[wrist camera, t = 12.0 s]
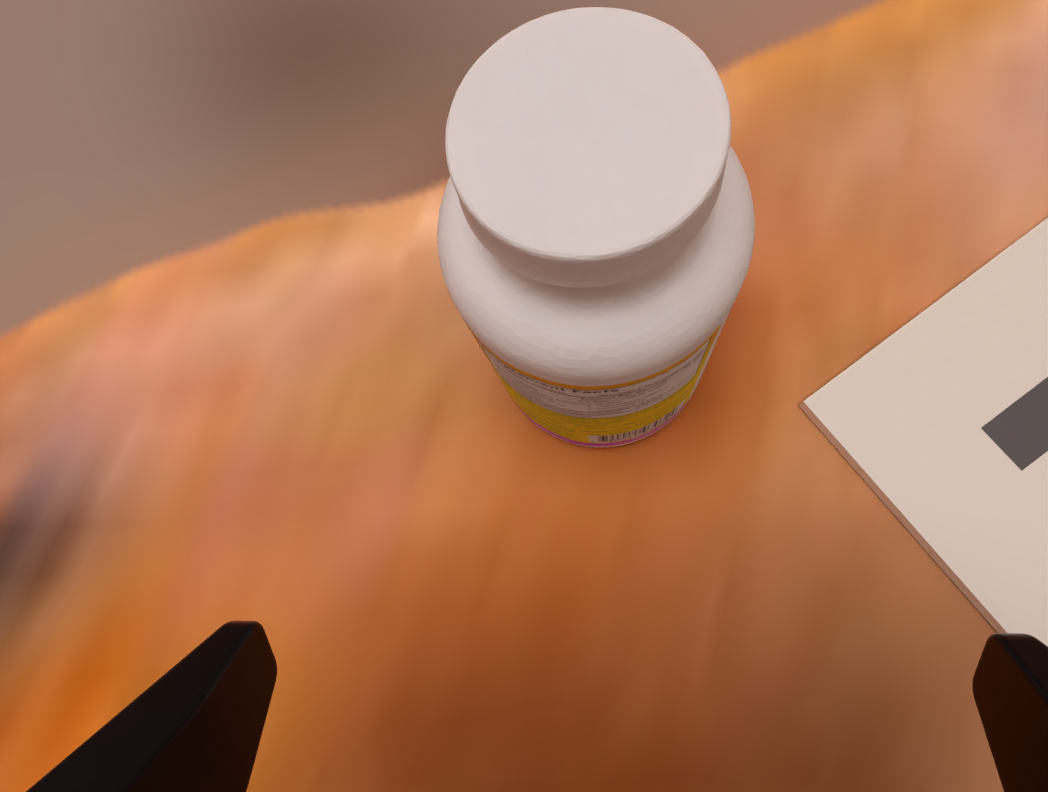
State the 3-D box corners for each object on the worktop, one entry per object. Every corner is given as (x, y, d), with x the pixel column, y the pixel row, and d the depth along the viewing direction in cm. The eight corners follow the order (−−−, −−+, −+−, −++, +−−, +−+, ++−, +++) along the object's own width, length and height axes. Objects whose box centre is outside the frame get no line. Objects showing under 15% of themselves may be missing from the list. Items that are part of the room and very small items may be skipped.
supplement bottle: (556, 232, 25) (502, -95, 13) (734, 307, 24) (866, 21, 12) (466, 400, 24) (314, 218, 12) (647, 488, 23) (690, 389, 10)
